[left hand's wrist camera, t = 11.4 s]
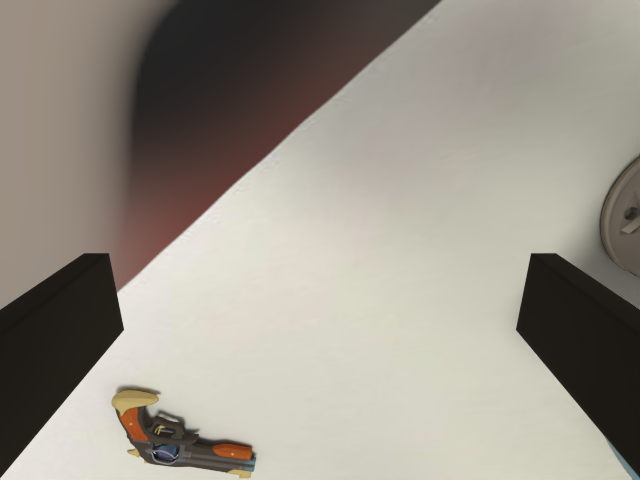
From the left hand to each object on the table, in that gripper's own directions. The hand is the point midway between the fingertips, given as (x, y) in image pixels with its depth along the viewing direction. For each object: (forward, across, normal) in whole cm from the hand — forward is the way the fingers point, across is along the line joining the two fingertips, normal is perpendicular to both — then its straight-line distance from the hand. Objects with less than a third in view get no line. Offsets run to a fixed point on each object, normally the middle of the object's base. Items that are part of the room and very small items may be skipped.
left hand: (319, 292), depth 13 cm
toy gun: (+29, -17, -35) cm, 48 cm away
